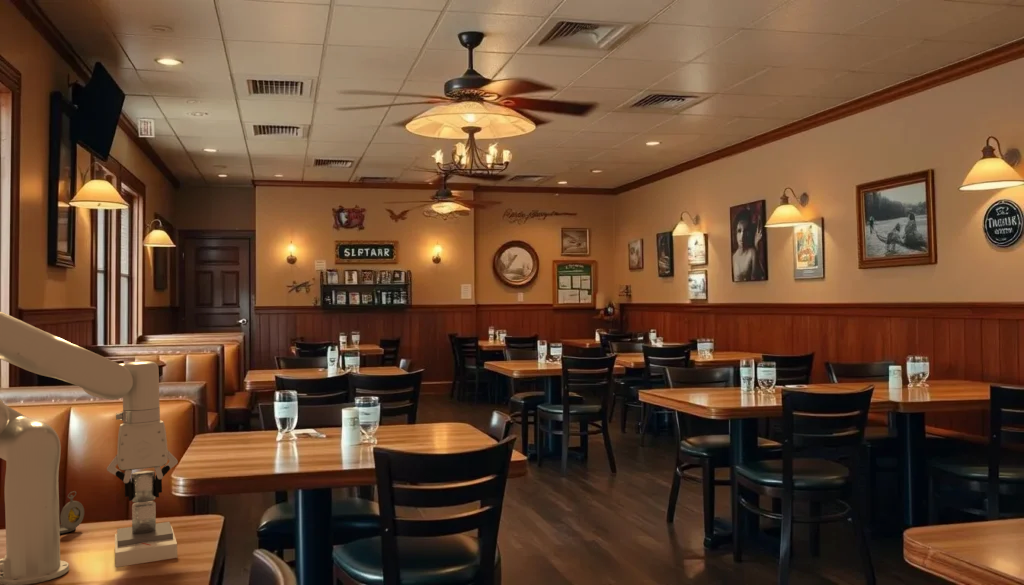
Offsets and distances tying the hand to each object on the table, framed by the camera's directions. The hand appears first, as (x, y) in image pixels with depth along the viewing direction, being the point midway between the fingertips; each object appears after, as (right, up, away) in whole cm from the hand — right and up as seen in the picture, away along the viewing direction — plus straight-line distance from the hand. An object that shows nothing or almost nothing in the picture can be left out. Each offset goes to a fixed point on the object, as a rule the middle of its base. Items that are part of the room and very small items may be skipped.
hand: (143, 497), depth 182 cm
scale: (+1, -12, -2) cm, 12 cm away
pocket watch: (-27, -13, +17) cm, 34 cm away
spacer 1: (0, -1, 0) cm, 1 cm away
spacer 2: (0, -7, 0) cm, 7 cm away
